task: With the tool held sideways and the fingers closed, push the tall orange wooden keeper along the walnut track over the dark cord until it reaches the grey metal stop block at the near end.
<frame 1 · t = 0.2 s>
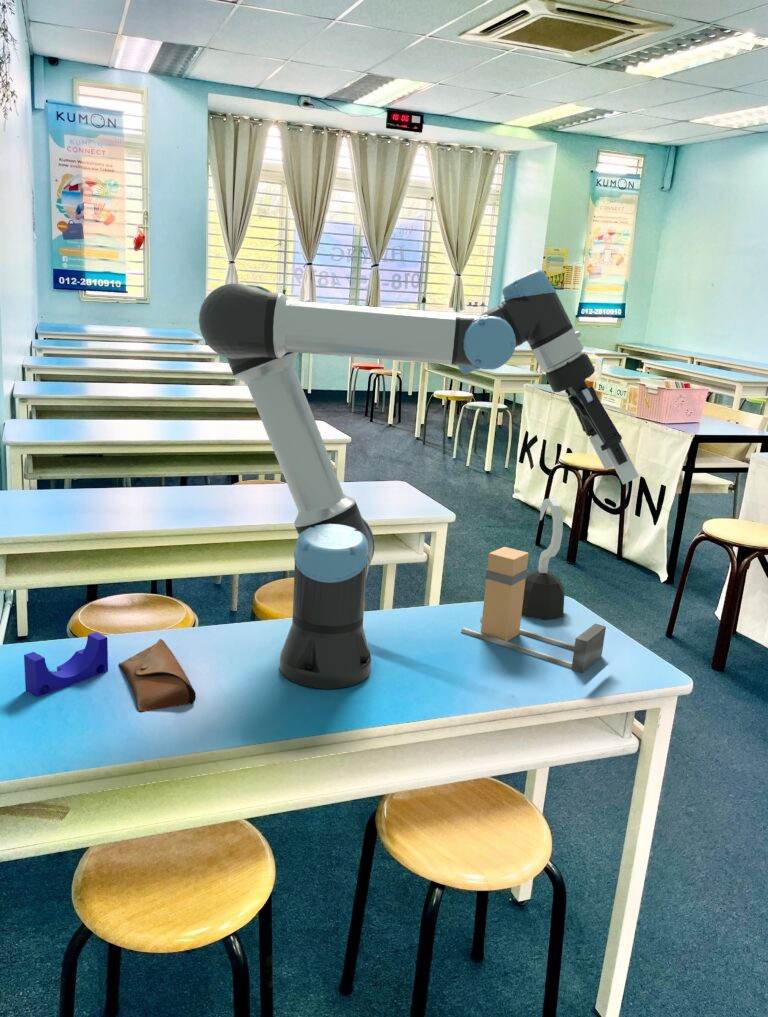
hand: (621, 473, 131), 35 cm above the table, tool tilted 35°, fingers open, 13 cm apart
keeper: (504, 594, 143), point 9 cm above the table, slide at 0.0 cm
track: (528, 651, 142), on the table
hook: (537, 618, 159), on the table
sunglasses case: (154, 686, 121), on the table
purple cradle bracket: (65, 681, 120), on the table
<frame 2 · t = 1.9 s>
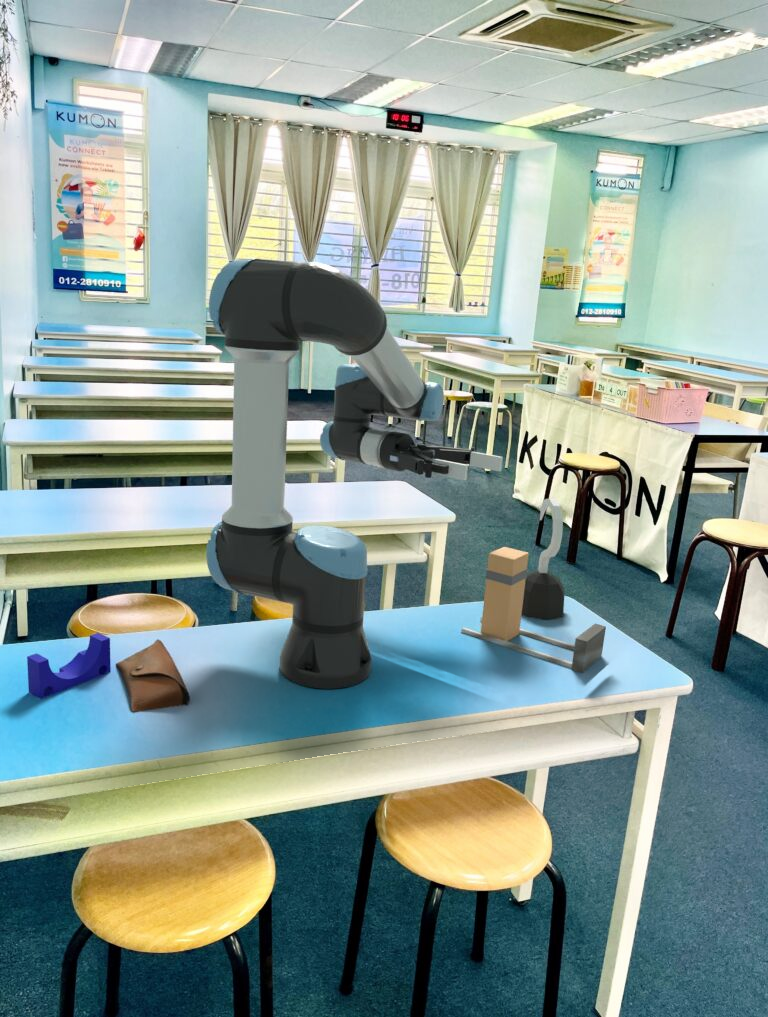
hand: (484, 468, 141), 32 cm above the table, tool horizontal, fingers open, 12 cm apart
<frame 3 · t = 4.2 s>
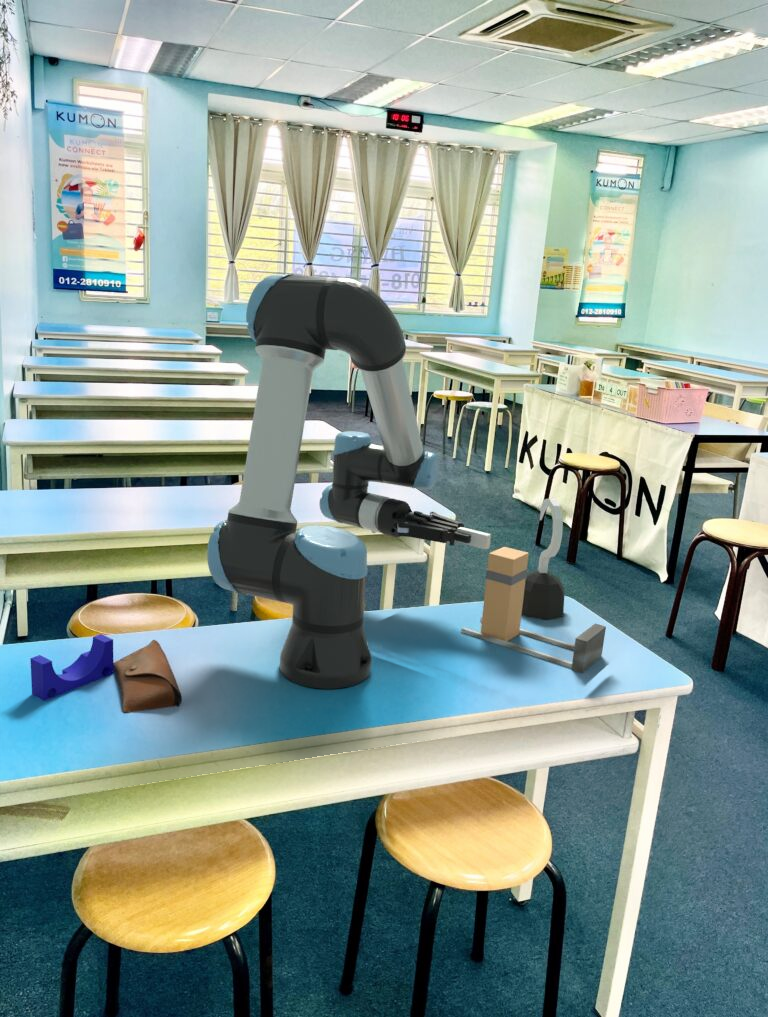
hand: (488, 541, 145), 18 cm above the table, tool horizontal, fingers closed
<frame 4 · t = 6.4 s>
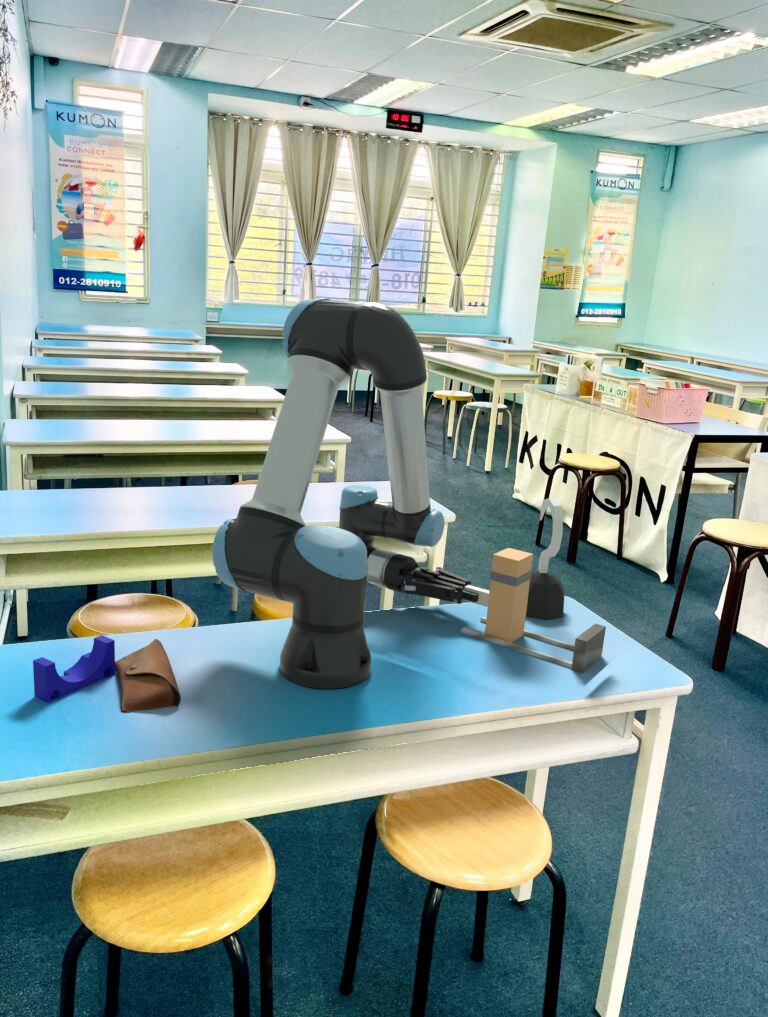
hand: (496, 601, 145), 7 cm above the table, tool horizontal, fingers closed
keeper: (508, 595, 142), point 9 cm above the table, slide at 0.9 cm, touching gripper
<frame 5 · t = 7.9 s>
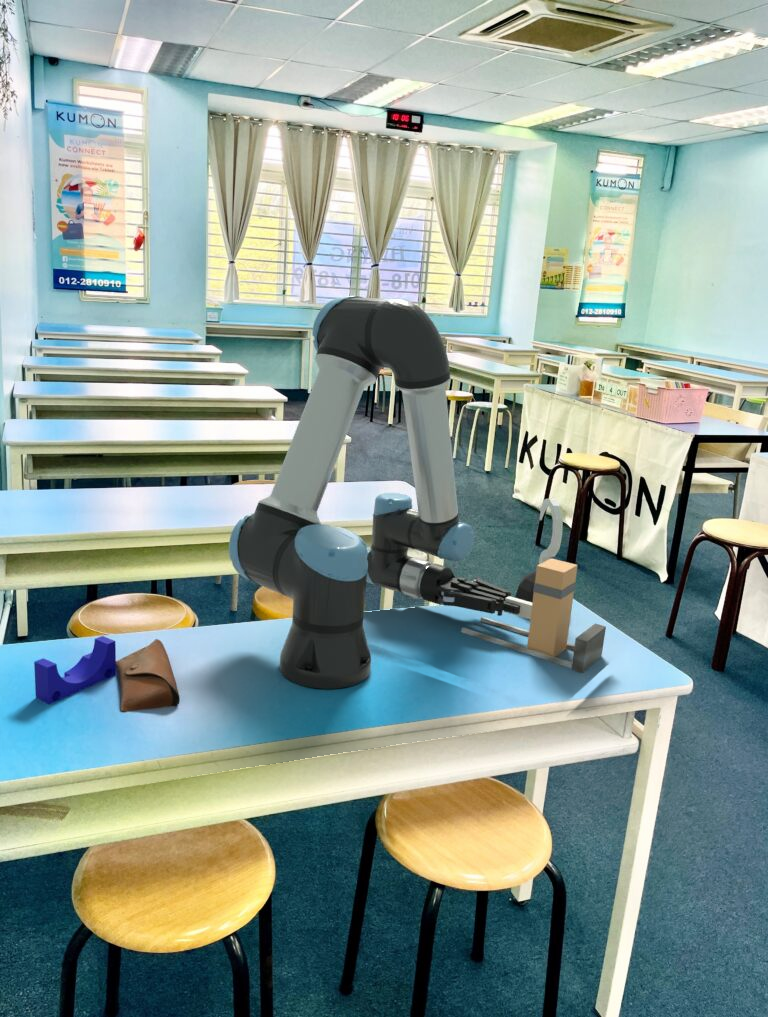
hand: (538, 613, 140), 7 cm above the table, tool horizontal, fingers closed
keeper: (551, 608, 138), point 9 cm above the table, slide at 9.4 cm, touching gripper
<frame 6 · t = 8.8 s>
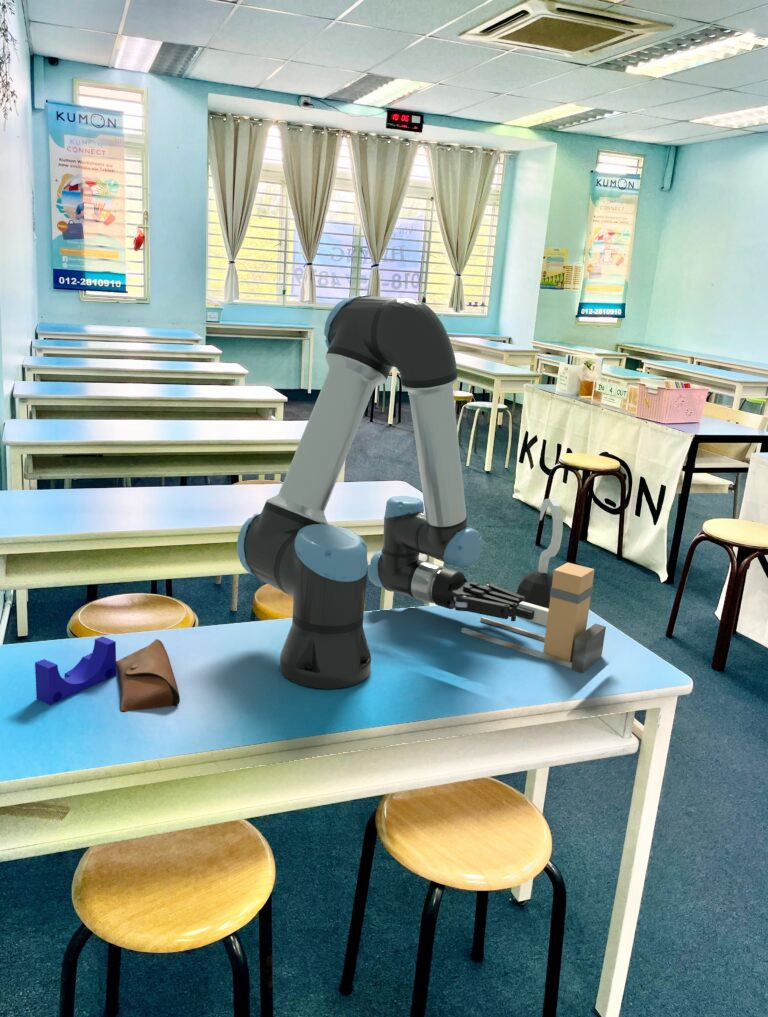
hand: (552, 618, 138), 7 cm above the table, tool horizontal, fingers closed
keeper: (568, 612, 136), point 9 cm above the table, slide at 12.6 cm, touching gripper
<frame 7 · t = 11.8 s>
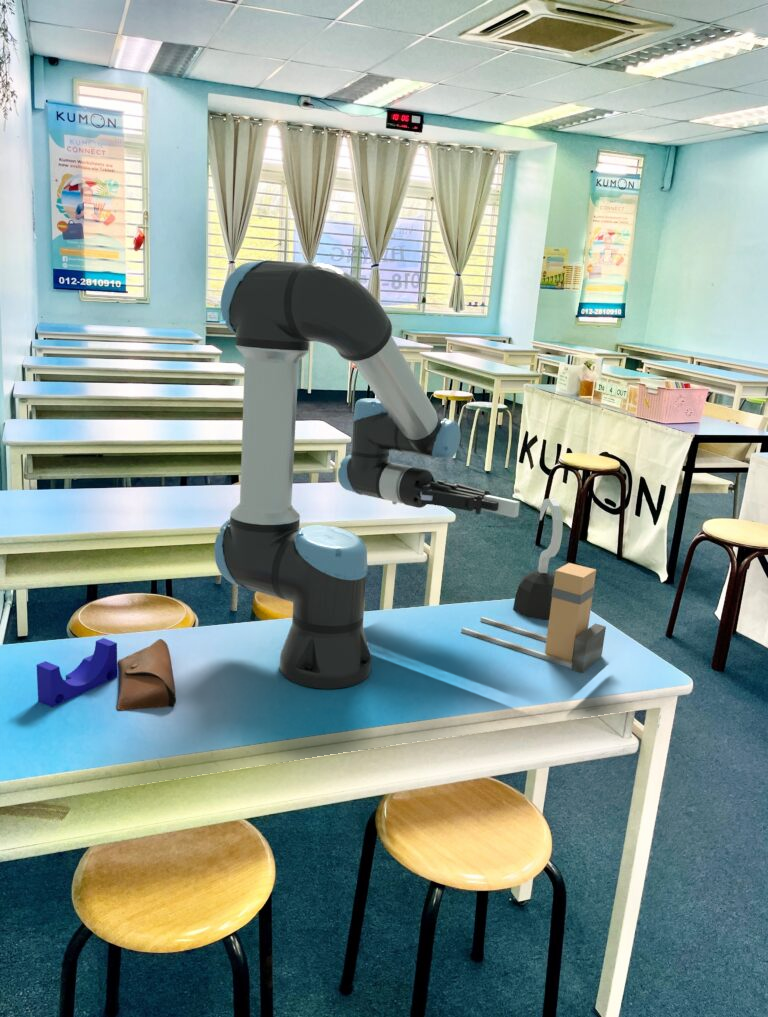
hand: (516, 509, 138), 26 cm above the table, tool horizontal, fingers closed
keeper: (570, 613, 136), point 9 cm above the table, slide at 12.9 cm
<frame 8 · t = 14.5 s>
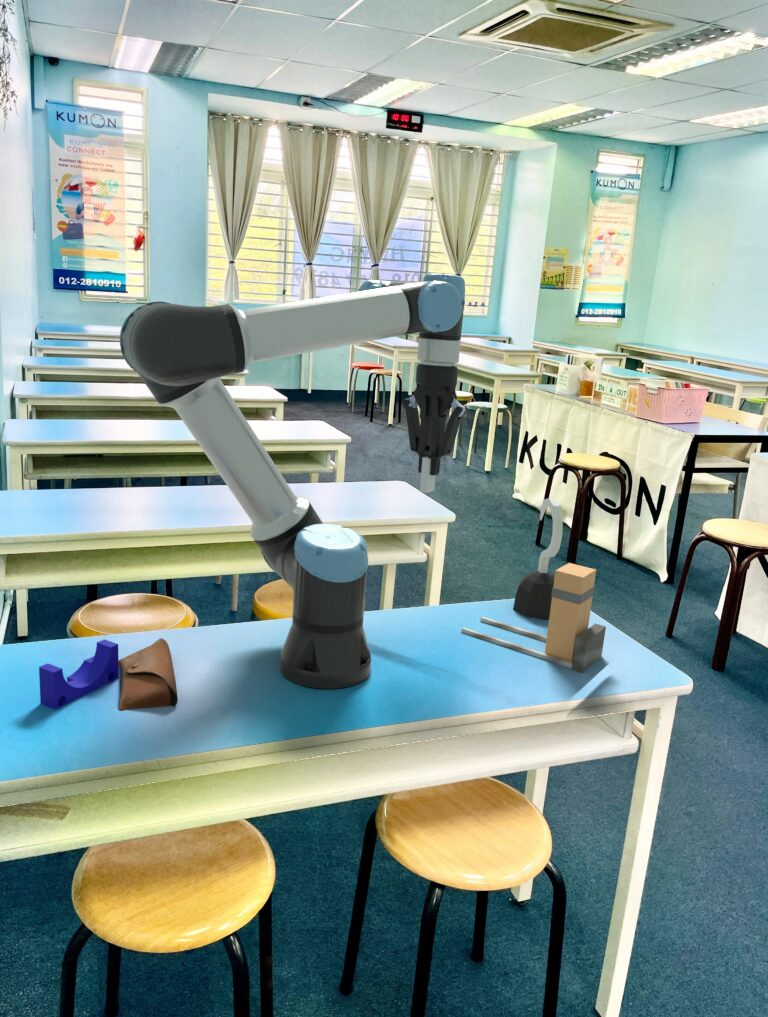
hand: (427, 491, 145), 26 cm above the table, tool pointing down, fingers closed
at the end: keeper slide at 12.9 cm; keeper 0.1 cm from the target spot, point 9.5 cm above the table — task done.
